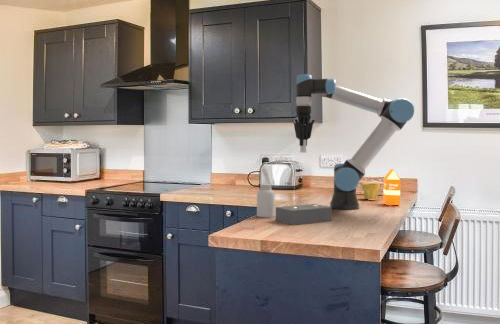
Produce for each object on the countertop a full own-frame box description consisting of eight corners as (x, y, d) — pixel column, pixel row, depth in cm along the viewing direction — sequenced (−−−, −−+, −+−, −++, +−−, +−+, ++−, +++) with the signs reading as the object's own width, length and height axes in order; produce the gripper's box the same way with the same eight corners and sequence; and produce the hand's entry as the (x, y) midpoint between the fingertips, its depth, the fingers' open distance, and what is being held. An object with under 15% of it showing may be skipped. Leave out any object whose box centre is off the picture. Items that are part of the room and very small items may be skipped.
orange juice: (396, 204, 276) (397, 168, 275) (400, 206, 267) (401, 169, 266) (382, 203, 276) (383, 168, 275) (385, 205, 268) (386, 169, 267)
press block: (313, 216, 225) (314, 204, 225) (331, 220, 215) (331, 207, 215) (275, 220, 213) (275, 207, 213) (292, 224, 203) (292, 210, 203)
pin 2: (314, 216, 219) (314, 204, 219) (319, 217, 217) (319, 205, 216) (309, 217, 218) (309, 205, 217) (313, 218, 215) (313, 206, 215)
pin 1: (293, 218, 213) (293, 206, 213) (298, 220, 210) (298, 207, 210) (287, 219, 211) (287, 206, 211) (292, 220, 208) (292, 207, 208)
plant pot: (358, 199, 296) (358, 183, 295) (373, 198, 299) (373, 182, 298) (367, 201, 286) (367, 184, 285) (382, 200, 289) (383, 184, 289)
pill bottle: (259, 218, 220) (260, 185, 219) (254, 215, 227) (255, 183, 227) (276, 217, 222) (276, 184, 221) (270, 214, 230) (271, 183, 229)
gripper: (308, 106, 252) (308, 152, 253) (289, 105, 245) (288, 152, 246) (318, 105, 246) (317, 152, 247) (298, 104, 238) (297, 152, 239)
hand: (303, 152), depth 246 cm, fingers closed
